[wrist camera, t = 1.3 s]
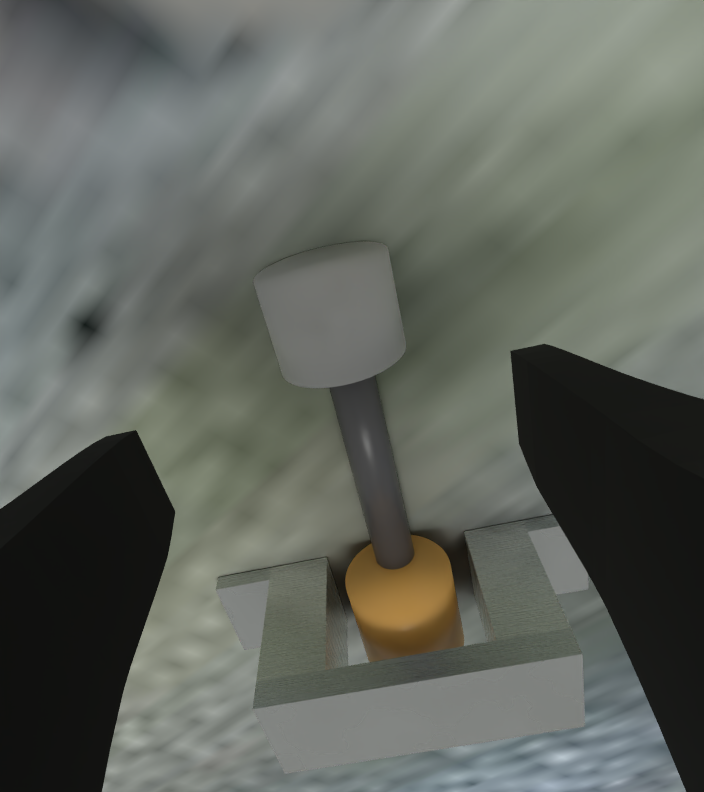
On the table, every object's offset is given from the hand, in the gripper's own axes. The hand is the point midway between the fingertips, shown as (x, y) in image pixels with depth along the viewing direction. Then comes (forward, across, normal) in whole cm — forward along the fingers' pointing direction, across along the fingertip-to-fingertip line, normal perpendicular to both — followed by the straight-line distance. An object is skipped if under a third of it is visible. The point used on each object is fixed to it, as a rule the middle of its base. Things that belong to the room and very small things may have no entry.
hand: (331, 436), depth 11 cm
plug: (+9, 0, +7) cm, 11 cm away
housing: (+9, 0, +14) cm, 16 cm away
